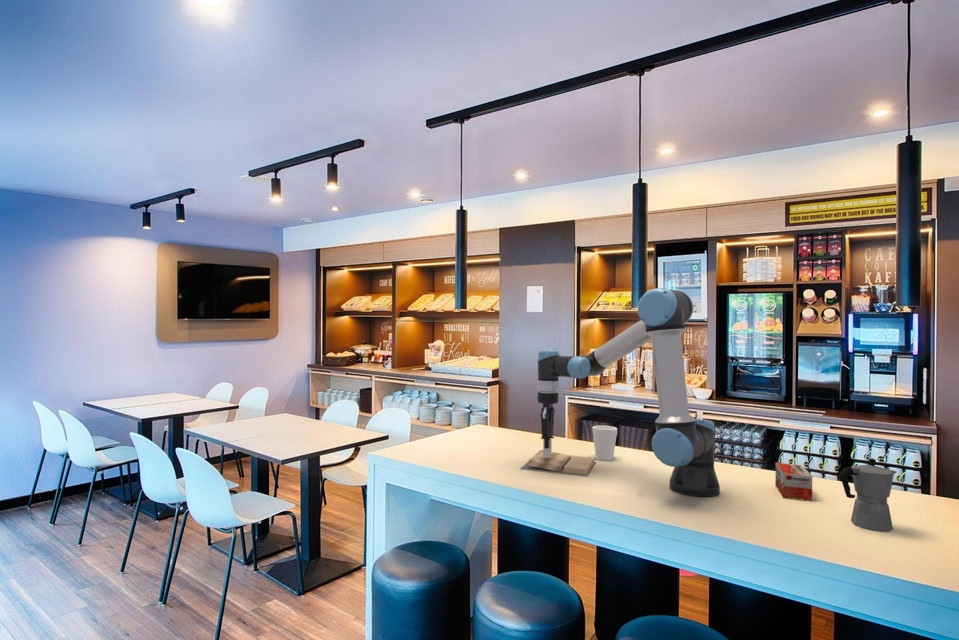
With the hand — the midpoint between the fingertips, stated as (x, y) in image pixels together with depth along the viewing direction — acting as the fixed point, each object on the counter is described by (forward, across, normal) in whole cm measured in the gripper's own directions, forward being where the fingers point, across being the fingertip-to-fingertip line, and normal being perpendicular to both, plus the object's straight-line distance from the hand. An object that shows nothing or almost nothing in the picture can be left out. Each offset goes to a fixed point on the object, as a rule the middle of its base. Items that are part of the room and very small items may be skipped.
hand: (547, 456), depth 199 cm
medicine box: (+6, -4, +79) cm, 80 cm away
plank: (+3, -3, +1) cm, 4 cm away
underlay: (+5, -3, +4) cm, 7 cm away
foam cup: (+5, -21, +18) cm, 28 cm away
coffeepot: (+6, +22, +93) cm, 96 cm away
